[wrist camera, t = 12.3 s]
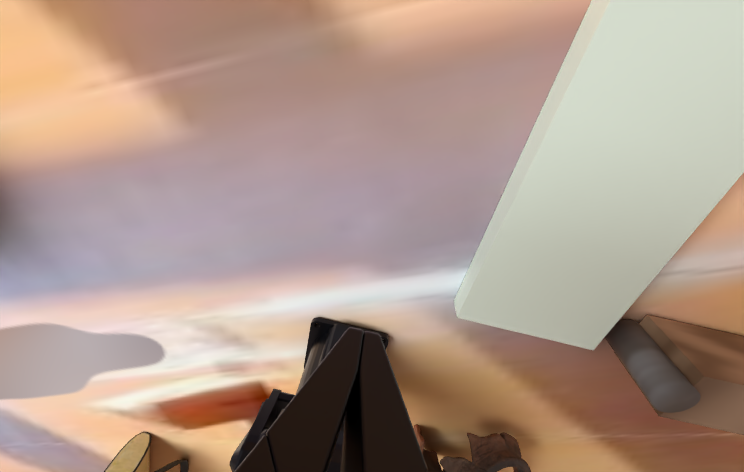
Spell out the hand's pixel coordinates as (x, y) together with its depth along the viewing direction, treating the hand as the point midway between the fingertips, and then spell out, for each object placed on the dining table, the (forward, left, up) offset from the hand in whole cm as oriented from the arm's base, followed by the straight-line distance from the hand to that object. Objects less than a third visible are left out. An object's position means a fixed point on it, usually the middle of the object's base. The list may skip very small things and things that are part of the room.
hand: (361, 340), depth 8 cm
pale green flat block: (+2, -12, -13) cm, 18 cm away
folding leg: (-7, -26, -13) cm, 30 cm away
